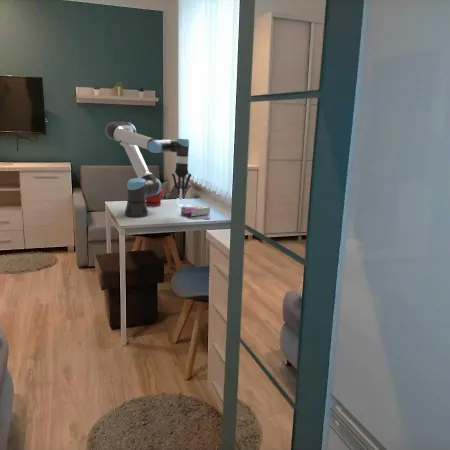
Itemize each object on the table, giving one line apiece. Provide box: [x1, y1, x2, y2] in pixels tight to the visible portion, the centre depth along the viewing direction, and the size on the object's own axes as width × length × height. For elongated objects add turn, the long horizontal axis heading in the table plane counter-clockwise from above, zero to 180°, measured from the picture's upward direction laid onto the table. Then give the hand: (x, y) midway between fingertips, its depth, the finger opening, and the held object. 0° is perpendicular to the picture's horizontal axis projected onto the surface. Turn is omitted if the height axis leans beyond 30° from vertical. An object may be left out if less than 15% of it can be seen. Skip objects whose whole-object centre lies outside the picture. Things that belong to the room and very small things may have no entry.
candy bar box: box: [180, 205, 211, 217], centre depth 294 cm, size 11×5×16 cm
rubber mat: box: [188, 214, 211, 220], centre depth 288 cm, size 13×12×1 cm
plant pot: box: [146, 188, 164, 207], centre depth 318 cm, size 13×13×12 cm
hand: (180, 199), depth 284 cm, fingers closed
